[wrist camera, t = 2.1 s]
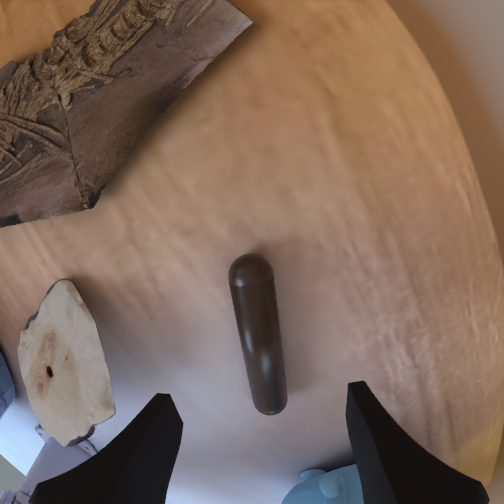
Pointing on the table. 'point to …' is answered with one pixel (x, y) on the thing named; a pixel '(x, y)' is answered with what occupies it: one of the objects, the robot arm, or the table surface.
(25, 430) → the table surface
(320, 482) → the teapot
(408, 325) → the table surface
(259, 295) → the stick
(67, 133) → the brown flat piece
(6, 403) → the bowl
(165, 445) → the robot arm
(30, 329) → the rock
